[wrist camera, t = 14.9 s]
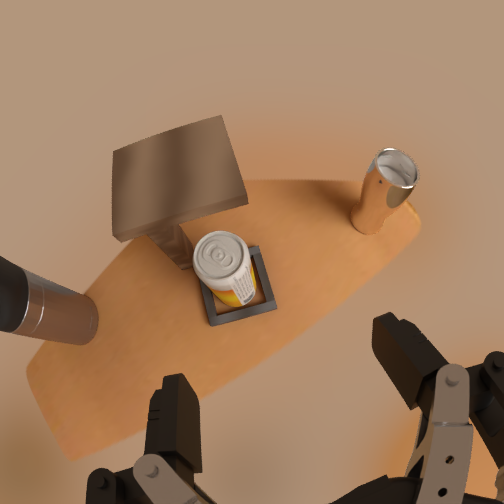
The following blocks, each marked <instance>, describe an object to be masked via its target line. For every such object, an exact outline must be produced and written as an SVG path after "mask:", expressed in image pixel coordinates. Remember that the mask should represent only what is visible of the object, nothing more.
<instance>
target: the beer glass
mask: <svg viewBox="0 0 504 504" xmlns="http://www.w3.org/2000/svg"><path fill="white" fill-rule="evenodd" d="M419 178H420V173H419V169H418V167H417V165H416V163H415V161H414V160H413V159H412V158H411V157H410V156H409V155H408V154H406V153H405V152H403V151H401V150H399V149H396V148H384V149H381V150H379V152H377V154H376V156H375V158H374V159H373V161H372V163H371V165H370V166H369V168H368V170H367V172H366V175H365V178H364V180H363V184H362V189H361V195H360V200H359V202H358V203H357V204H356V205H355V206H354V207H353V209H352V211H351V215H350V217H351V222H352V224H353V226H354V227H355V228H356V229H357V230H358V231H359V232H361V233H363V234H367V235H373V234H376V233H378V232H379V231H380V230H381V228H382V226H383V224H384V221H385V219H386V218H387V217H389V216H390V215H391V214H393V213H394V212H395V211H397V210H398V209H399V208H400V207H401V206H402V205H403V204H404V203H405V202H406V201H407V199H408V198H409V196H410V195H411V193H412V191H413V190H414V188H415V186H416V184H417V183H418V181H419Z"/></svg>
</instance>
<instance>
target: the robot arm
mask: <svg viewBox="0 0 504 504" xmlns="http://www.w3.org/2000/svg"><path fill="white" fill-rule="evenodd" d="M97 326H98V313H97V309H96V306H95V304H94V303H93V301H92V300H91V299H90V298H89V297H87V296H85V295H82V294H80V293H77V292H75V291H73V290H70V289H68V288H65V287H63V286H61V285H58V284H56V283H54V282H51V281H49V280H46V279H45V278H42V277H40V276H38V275H35V274H33V273H31V272H29V271H27V270H25V269H23V268H21V267H19V266H17V265H15V264H13V263H11V262H9V261H8V260H6V259H5V258H3V257H1V256H0V331H4V332H8V333H13V334H17V335H22V336H28V337H32V338H38V339H43V340H49V341H55V342H62V343H68V344H75V345H83V344H86V343H88V342H89V341H90V340H91V339H92V338H93V337H94V335H95V333H96V330H97ZM372 331H373V332H372V349H373V352H374V354H375V356H376V358H377V359H378V361H379V362H380V364H381V365H382V367H383V368H384V370H385V371H386V373H387V374H388V376H389V377H390V379H391V381H392V382H393V384H394V385H395V387H396V388H397V390H398V391H399V393H400V394H401V396H402V398H403V399H404V401H405V402H406V404H407V406H408V407H409V409H410V410H413V409H414V408H416V407H418V406H419V407H420V409H421V415H420V421H419V426H418V431H417V436H416V441H415V445H414V449H413V453H412V456H411V458H410V461H409V463H408V466H407V469H406V473H405V476H404V477H395V478H389V479H388V477H387V475H384V476H382V477H380V478H377V479H375V480H373V481H370V482H368V483H366V484H363V485H361V486H358V487H357V488H355V489H354V490H352V491H351V492H349V493H348V494H346V495H344V496H343V497H341V498H339V499H338V500H336V501H334V502H332V503H329V504H504V353H503V352H499V351H495V352H491V353H489V354H488V355H487V356H486V358H485V360H484V362H483V363H482V364H479V365H475V366H472V367H468V368H464V367H462V366H460V365H457V364H449V363H448V362H447V361H446V359H444V357H443V356H442V355H441V354H440V352H439V351H438V350H437V349H436V348H435V347H434V346H433V345H432V343H431V342H430V341H429V340H427V338H426V337H425V336H424V335H423V333H421V331H420V330H419V329H418V328H417V327H416V326H415V324H413V323H411V322H409V321H407V320H405V319H402V320H400V321H399V320H398V319H397V318H396V317H395V315H394V314H393V313H391V312H388V313H386V314H383V315H381V316H378V317H376V318H374V319H373V330H372ZM468 418H470V419H471V421H472V422H473V424H474V426H475V427H476V429H477V431H478V432H479V434H480V436H481V437H482V439H483V441H484V443H485V445H486V446H487V448H488V450H489V452H490V454H491V456H492V457H493V459H494V461H495V463H496V465H497V467H498V469H499V471H498V473H497V476H496V481H495V487H496V488H497V489H498V491H497V497H496V499H491V498H486V497H481V496H476V495H472V494H468V493H464V491H465V487H466V482H467V477H468V471H469V465H470V458H471V451H472V442H473V426H472V424H469V421H468ZM194 473H202V456H201V435H200V406H199V401H198V398H197V395H196V393H195V392H194V390H193V389H192V387H191V386H190V384H189V382H188V381H187V379H186V378H185V376H184V375H183V374H182V373H179V374H174V375H168V376H164V378H163V384H162V389H159V390H156V391H155V392H154V394H153V396H152V398H151V399H150V405H149V413H148V421H147V430H146V441H145V451H144V455H143V456H142V457H140V458H139V459H138V460H137V461H136V463H135V464H134V467H131V468H129V469H125V470H122V471H119V472H115V473H113V472H111V471H109V470H108V469H105V468H99V469H96V470H94V471H93V472H92V473H91V474H90V475H89V477H88V482H87V491H86V504H217V503H216V502H215V501H214V500H213V499H212V498H211V497H209V496H208V495H207V494H206V493H205V492H204V491H203V490H202V489H201V488H200V487H199V486H198V485H197V484H196V483H195V482H194Z"/></svg>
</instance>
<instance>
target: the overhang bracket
mask: <svg viewBox="0 0 504 504" xmlns="http://www.w3.org/2000/svg"><path fill="white" fill-rule="evenodd" d="M247 204H248V197H247V192H246V189H245V186H244V183H243V180H242V177H241V174H240V171H239V167H238V164H237V161H236V158H235V155H234V152H233V149H232V146H231V143H230V140H229V137H228V134H227V131H226V128H225V124H224V121H223V118H222V116H221V115H220V116H216V117H212V118H208V119H205V120H201V121H198V122H195V123H191V124H188V125H185V126H181V127H178V128H175V129H172V130H169V131H166V132H163V133H160V134H157V135H154V136H151V137H149V138H146V139H143V140H141V141H138V142H135V143H133V144H130V145H128V146H125V147H123V148H120V149H118V150H115V151H113V167H112V232H113V236H114V237H115V238H116V239H117V240H119V241H120V242H124V241H127V240H130V239H133V238H137V237H140V236H143V235H146V234H147V235H148V236H149V237H150V238H151V239H152V240H153V241H154V242H155V243H156V244H157V245H158V246H159V247H160V248H161V249H162V250H163V251H164V252H165V253H166V254H167V255H168V256H169V257H170V258H171V259H172V260H173V261H174V262H175V263H176V264H177V265H178V266H179V267H180V268H181V269H182V270H183V269H187V268H190V267H193V254H194V253H193V248H192V243H191V242H190V240H189V239H188V238H187V236H186V235H185V233H184V232H183V230H182V229H181V227H180V226H179V225H178V224H181V223H184V222H187V221H191V220H194V219H197V218H201V217H204V216H207V215H211V214H214V213H218V212H221V211H225V210H228V209H232V208H236V207H239V206H243V205H247ZM248 250H249V254H250V258H253V257H254V261H255V264H256V268H257V271H258V274H259V278H260V281H261V285H262V288H263V291H264V295H265V298H266V303H263V304H259V305H255V306H252V307H248V308H245V309H241V310H237V311H234V312H230V313H226V314H222V315H218V316H217V312H216V308H215V303H214V299H213V295H212V291H211V290H210V289H209V288H208V287H207V285H206V284H205V283H204V282H203V281H202V280H201V279H200V278H199V279H200V284H201V288H202V292H203V297H204V301H205V305H206V310H207V314H208V318H209V322H210V326H212V327H213V326H217V325H221V324H225V323H228V322H232V321H236V320H240V319H243V318H247V317H251V316H254V315H258V314H262V313H265V312H269V311H272V310H275V309H277V305H276V302H275V298H274V295H273V292H272V289H271V285H270V282H269V279H268V275H267V272H266V269H265V265H264V262H263V259H262V255H261V252H260V249H259V246H255V247H251V248H248Z"/></svg>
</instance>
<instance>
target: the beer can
mask: <svg viewBox="0 0 504 504" xmlns="http://www.w3.org/2000/svg"><path fill="white" fill-rule="evenodd" d="M193 267H194V270H195V272H196V274H197V276H198V277H199V278H200V279H201V280H202V281H203V282H204V283H205V284H206V285H207V287H208V288H209V289H210V290H211V291H212V292H213V293H214V294H215V295H216V296H217V297H218V298H219V299H220V300H221V301H222V302H223V303H224V304H226V305H228V306H232V307H239V306H243V305H245V304H247V303H248V302H249V301H251V299H252V298H253V297H254V295H255V292H256V281H255V276H254V272H253V268H252V263H251V259H250V254H249V250H248V247H247V245H246V244H245V242H244V241H243V240H242V239H241V238H240V237H239V236H237V235H235V234H233V233H230V232H227V231H214V232H211V233H209V234H207V235H205V236H204V237H203V238H201V240H200V241H199V242H198V243H197V245H196V247H195V250H194V254H193Z"/></svg>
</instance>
